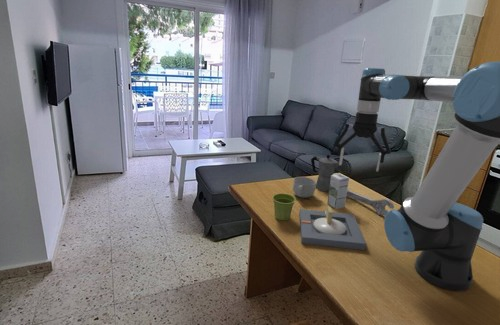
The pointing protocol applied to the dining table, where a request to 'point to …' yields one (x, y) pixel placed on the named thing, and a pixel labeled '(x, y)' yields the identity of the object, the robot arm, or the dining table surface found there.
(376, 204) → the wrench
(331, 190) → the syrup box
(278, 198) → the plant pot
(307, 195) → the teacup
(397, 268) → the dining table surface
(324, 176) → the coffeepot
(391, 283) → the dining table surface
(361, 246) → the dial housing
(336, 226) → the dial
